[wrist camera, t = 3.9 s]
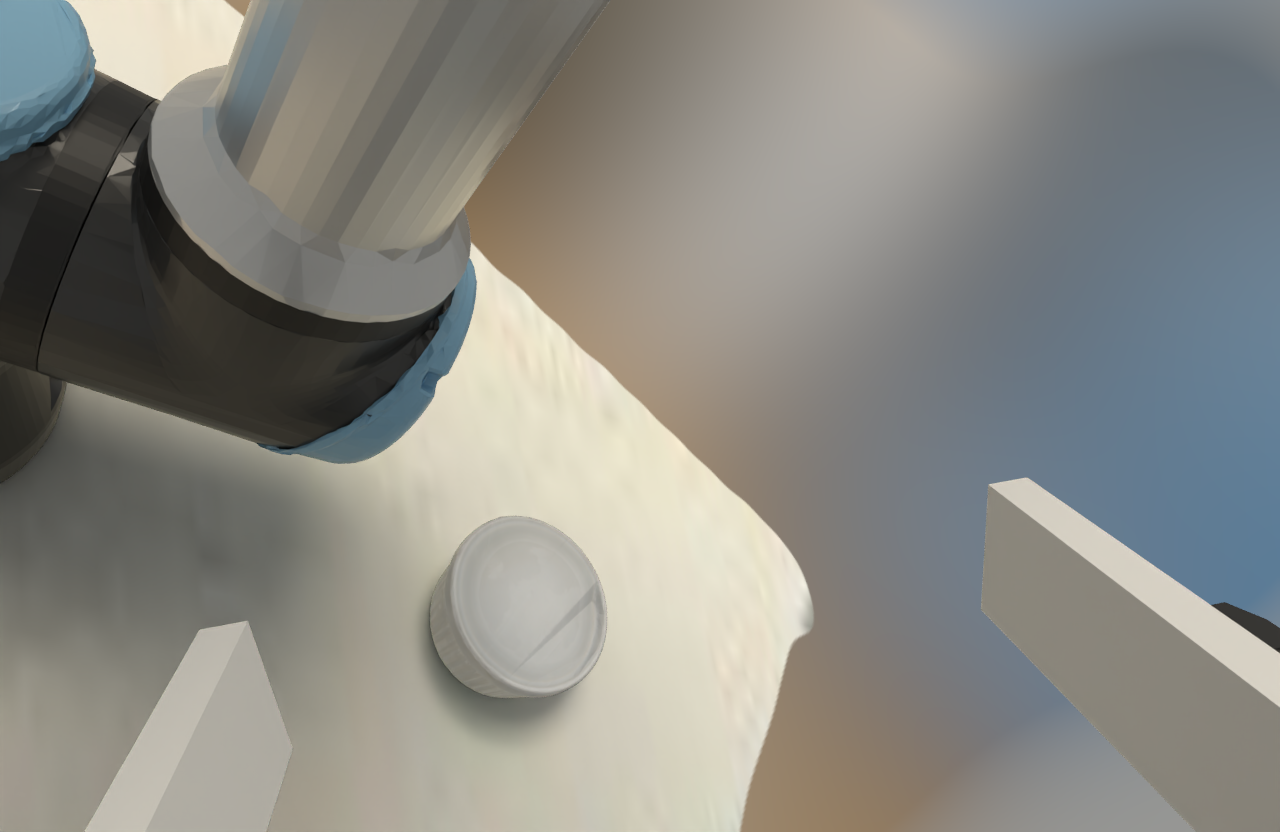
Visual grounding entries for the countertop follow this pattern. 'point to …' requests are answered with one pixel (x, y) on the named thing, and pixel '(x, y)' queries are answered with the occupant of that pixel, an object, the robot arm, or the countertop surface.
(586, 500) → the countertop surface
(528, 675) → the ramekin
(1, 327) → the robot arm
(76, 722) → the countertop surface
